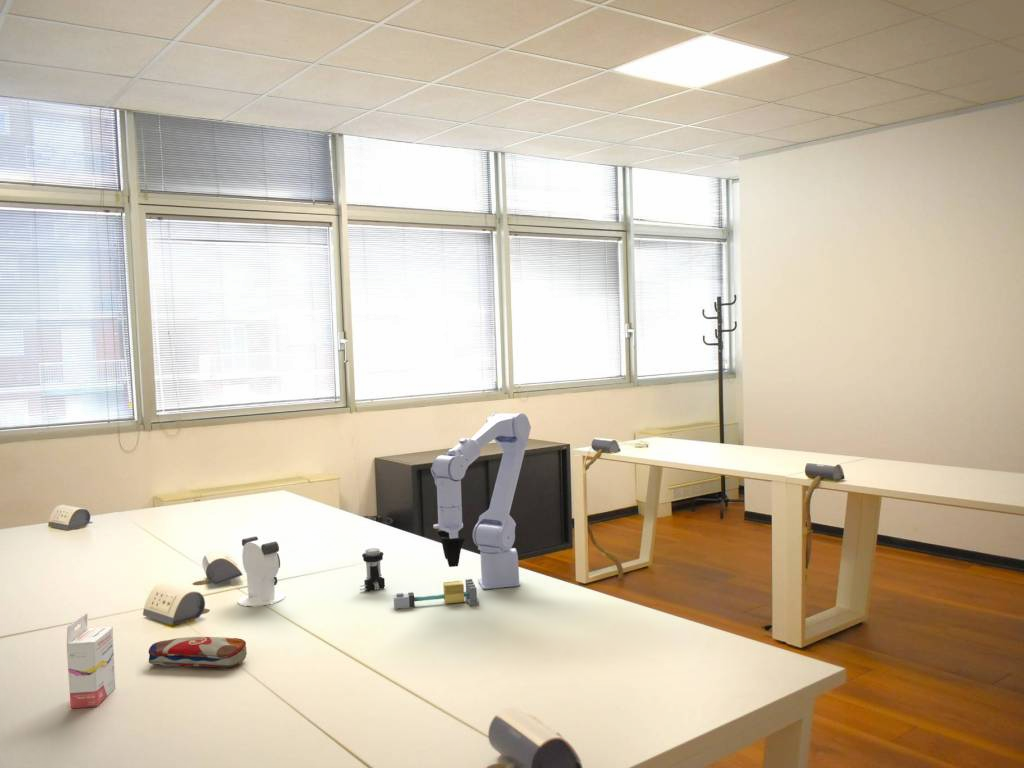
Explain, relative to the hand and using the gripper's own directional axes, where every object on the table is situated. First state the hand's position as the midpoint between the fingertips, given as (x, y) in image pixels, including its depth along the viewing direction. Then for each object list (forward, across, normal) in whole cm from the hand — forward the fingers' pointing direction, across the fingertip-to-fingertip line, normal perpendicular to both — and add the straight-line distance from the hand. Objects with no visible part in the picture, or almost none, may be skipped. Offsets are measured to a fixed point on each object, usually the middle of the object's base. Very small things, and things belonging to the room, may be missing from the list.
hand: (451, 562), depth 200 cm
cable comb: (+9, 0, +4) cm, 10 cm away
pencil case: (+11, +24, -54) cm, 60 cm away
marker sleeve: (+10, 0, 0) cm, 10 cm away
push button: (+10, -17, -19) cm, 27 cm away
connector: (+10, 0, -12) cm, 16 cm away
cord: (+10, 0, -4) cm, 10 cm away
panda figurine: (+10, -17, -46) cm, 50 cm away
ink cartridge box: (+11, +36, -70) cm, 79 cm away
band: (+10, 0, -10) cm, 14 cm away
